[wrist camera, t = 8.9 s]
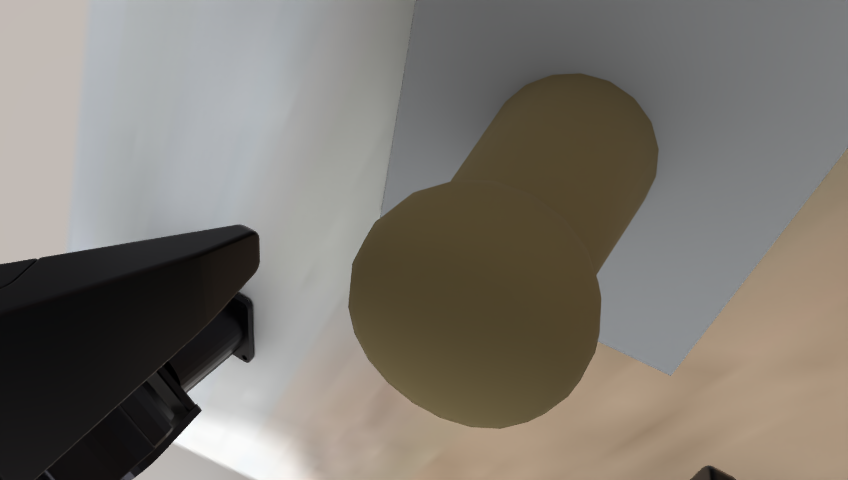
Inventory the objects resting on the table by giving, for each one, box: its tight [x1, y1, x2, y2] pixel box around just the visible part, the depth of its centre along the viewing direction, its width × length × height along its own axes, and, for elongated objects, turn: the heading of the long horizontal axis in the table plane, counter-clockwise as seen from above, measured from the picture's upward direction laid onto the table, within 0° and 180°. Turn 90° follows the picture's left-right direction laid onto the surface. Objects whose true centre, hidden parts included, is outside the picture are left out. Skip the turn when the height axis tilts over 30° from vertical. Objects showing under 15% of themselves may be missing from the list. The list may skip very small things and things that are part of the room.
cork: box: [348, 73, 659, 429], centre depth 13 cm, size 6×6×11 cm
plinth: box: [380, 0, 848, 376], centre depth 18 cm, size 14×14×2 cm
